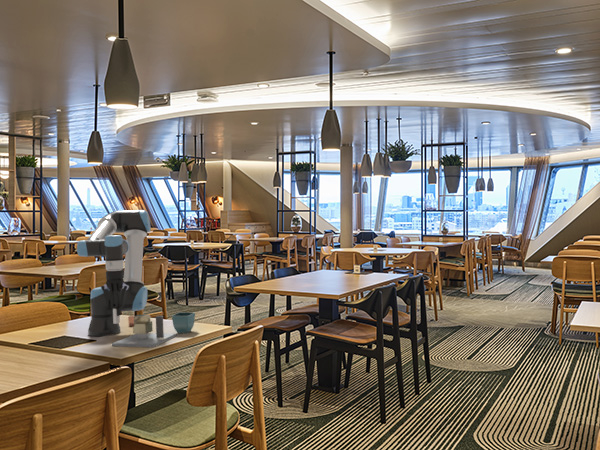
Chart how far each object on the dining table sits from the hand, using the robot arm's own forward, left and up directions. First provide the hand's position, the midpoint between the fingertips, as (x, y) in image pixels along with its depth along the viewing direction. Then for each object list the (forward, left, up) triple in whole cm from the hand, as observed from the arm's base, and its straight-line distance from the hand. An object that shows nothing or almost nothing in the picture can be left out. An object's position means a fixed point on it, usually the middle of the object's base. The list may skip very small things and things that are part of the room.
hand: (116, 323), depth 248 cm
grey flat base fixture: (+8, +10, -10) cm, 16 cm away
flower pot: (+18, +30, -10) cm, 37 cm away
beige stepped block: (+7, +7, -6) cm, 11 cm away
